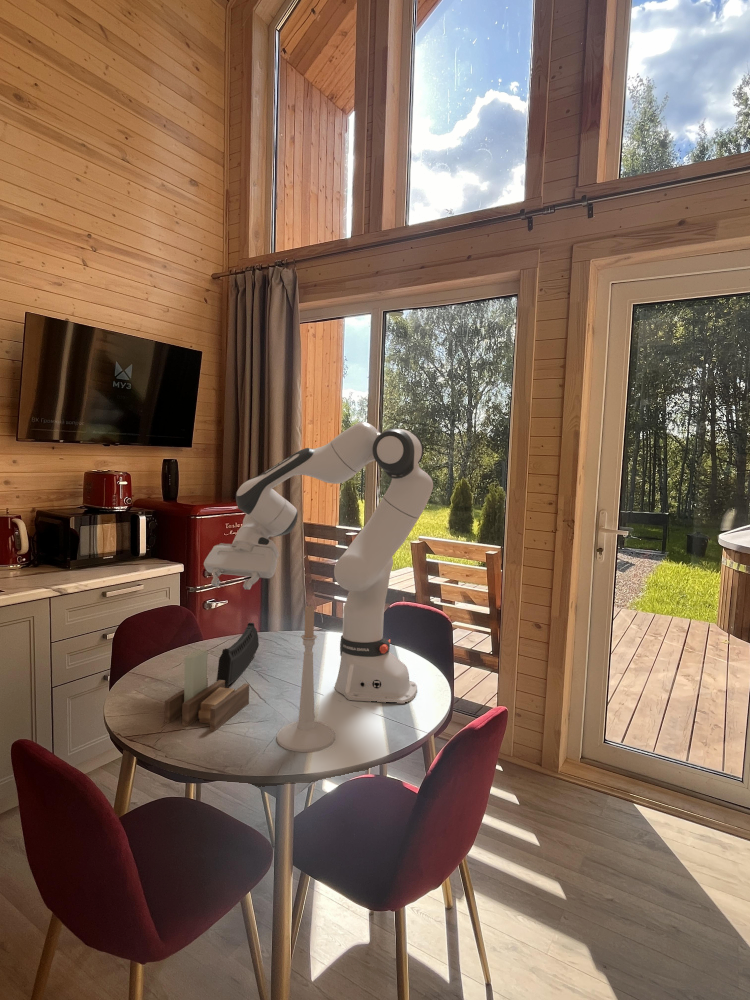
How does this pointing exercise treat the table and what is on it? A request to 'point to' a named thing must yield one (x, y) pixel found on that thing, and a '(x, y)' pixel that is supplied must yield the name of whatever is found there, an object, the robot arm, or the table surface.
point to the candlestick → (306, 704)
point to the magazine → (238, 656)
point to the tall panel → (195, 673)
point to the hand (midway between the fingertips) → (230, 586)
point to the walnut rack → (217, 712)
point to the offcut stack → (212, 703)
